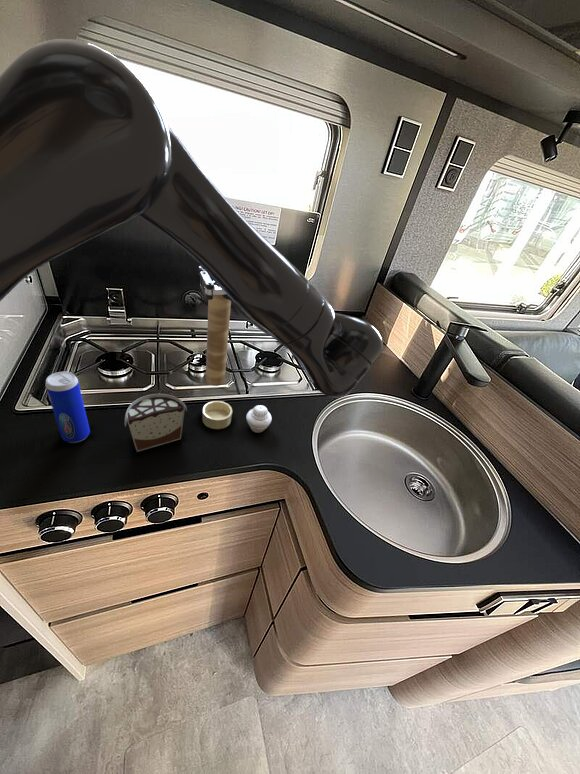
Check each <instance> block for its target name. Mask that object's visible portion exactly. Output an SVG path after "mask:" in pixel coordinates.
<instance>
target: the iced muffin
mask: <svg viewBox="0 0 580 774" xmlns="http://www.w3.org/2000/svg"><path fill="white" fill-rule="evenodd" d="M185 412H188V407H187V405H186V404H185V402H183V400H182V399H181V398H179V397H177V396H174V395H173V394H172V395H171V394H167V393H152V394H147V395H143V396H141V397H138V398H137V399H135V400H134V401H133V402H131V404H129V405H128V408H127V409H126V411H125V414H124V420H123V421H124V422H123V423H124V427H127V425H128V429H129V431H130V434H131V437H132V440H133V445H134V448H135V451H136V453H138V452H142V451H145V450H149V449H152V448H155V447H158V446H162V445H166V444H169V443H172V442H176V441H179V440H182V434H183V425H184V418H185Z"/></svg>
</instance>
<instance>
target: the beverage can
mask: <svg viewBox="0 0 580 774" xmlns="http://www.w3.org/2000/svg"><path fill="white" fill-rule="evenodd" d="M79 383H80V382H79V379H78V377H76V375H75V374H74V373H72V372H71V371H58V372H54V373H51V374H50V375H48V376H47V377H46V379H45V389H46V392H47V395H48V399H49V402H50V405H51V408H52V411H53V414H54V418H55V421H56V424H57V427H58V430H59V434H60V437H61V439H62V441H64V442H66V443H70V444H76V443H80V442H82V441H84V440H86V439H87V438H88V437H89V435H90V433H91V429H90V425H89V421H88V416H87V412H86V408H85V403H84V399H83V394H82V393H81V387H80V384H79Z"/></svg>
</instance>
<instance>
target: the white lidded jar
mask: <svg viewBox="0 0 580 774" xmlns="http://www.w3.org/2000/svg"><path fill="white" fill-rule="evenodd" d="M245 417H246V422H247V424H248V426H249V428H250V430H251V431H252V432H254V433H258V434H259V433H262V432H264V431H265V430H266V429H267V428H268V427H269V426H270V424H271V423H272V420H273V419H272V418H273V417H272V415H271V413H270V412H269V411H268V408H267V406H265V405H262V404H260V405H259V404H257V405H255V406H254V407H253V408H251V409H249V410H248V412H247V413H246V416H245Z"/></svg>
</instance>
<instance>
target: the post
mask: <svg viewBox="0 0 580 774" xmlns="http://www.w3.org/2000/svg"><path fill="white" fill-rule="evenodd" d="M215 282H216V281H215ZM216 283H217V282H216ZM207 300H208V299H207ZM231 306H232V301H230V300H228V299H225V298H224V297H223V296H222V295H215V296H213V299H212V300H208V302H207V327H206V328H207V329H206V331H207V332H206V355H205V357H206V358H205V360H206V361H205V362H206V363H205V383H206V384H207V385H210V386H213V387H218V386H222V385H224V383H225V382H226V373H227V372H226V371H227V361H228V358H227V357H228V347H229V346H228V345H229V334H230V333H229V332H230V319H231V308H232V307H231Z"/></svg>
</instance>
